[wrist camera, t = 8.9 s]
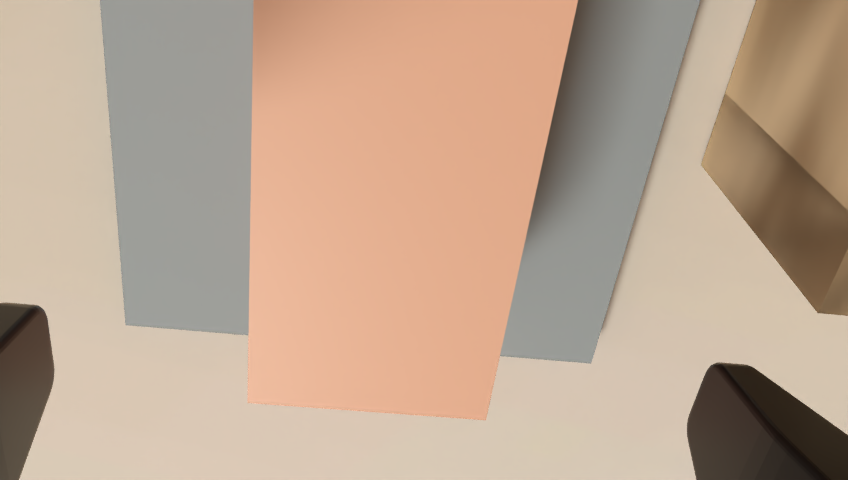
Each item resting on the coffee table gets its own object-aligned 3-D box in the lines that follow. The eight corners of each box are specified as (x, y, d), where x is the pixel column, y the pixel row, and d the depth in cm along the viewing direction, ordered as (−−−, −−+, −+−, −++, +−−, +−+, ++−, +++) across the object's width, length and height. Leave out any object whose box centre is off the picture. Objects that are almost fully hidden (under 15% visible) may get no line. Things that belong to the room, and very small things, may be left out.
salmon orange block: (469, 301, 16) (485, 420, 13) (275, 285, 16) (248, 402, 13) (560, -187, 12) (616, -174, 9) (293, -225, 11) (257, -226, 8)
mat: (585, 346, 18) (590, 363, 17) (133, 308, 17) (125, 325, 16) (726, -137, 13) (740, -134, 12) (95, -228, 12) (82, -229, 11)
